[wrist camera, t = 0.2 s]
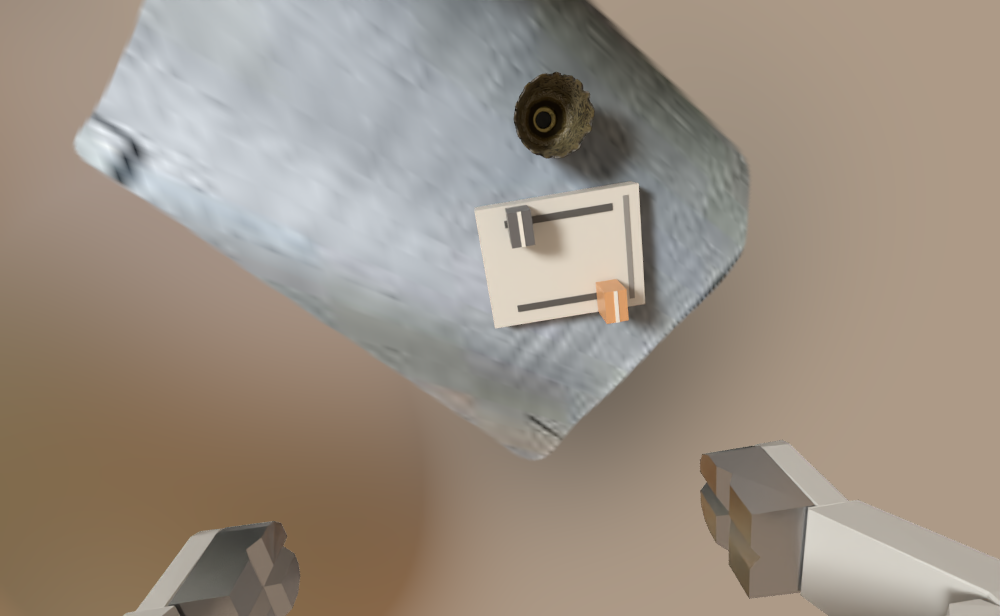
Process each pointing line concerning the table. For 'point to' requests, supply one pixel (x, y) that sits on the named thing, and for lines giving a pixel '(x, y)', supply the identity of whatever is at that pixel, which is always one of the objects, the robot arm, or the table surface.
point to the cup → (554, 115)
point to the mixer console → (563, 253)
